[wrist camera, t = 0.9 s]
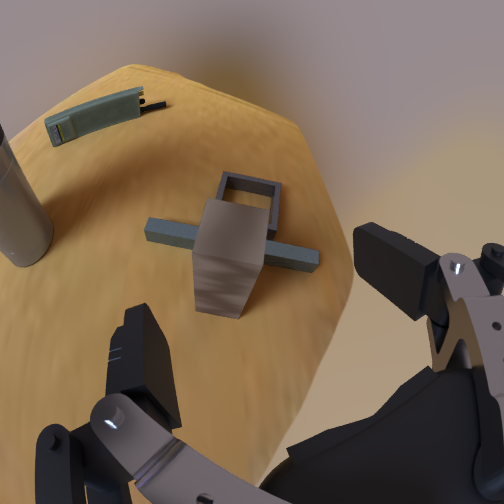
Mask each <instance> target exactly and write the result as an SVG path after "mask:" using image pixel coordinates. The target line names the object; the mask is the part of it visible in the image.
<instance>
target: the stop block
mask: <svg viewBox="0 0 504 504" xmlns="http://www.w3.org/2000/svg"><path fill="white" fill-rule="evenodd" d="M268 219H269V210H266V209H261V208H257V207H252V206H247V205H242V204H237V203H232V202H227V201H222V200H216V199H211V198H207V201H206V205H205V208H204V212H203V215H202V218H201V222H200V225H199V229H198V233H197V236H196V240H195V243H194V247H193V251H192V259H193V278H194V294H195V308H196V311H198V312H203V313H208V314H213V315H218V316H223V317H229V318H234V319H239V317H240V315H241V312H242V310H243V308H244V306H245V304H246V302H247V299H248V297H249V295H250V293H251V291H252V289H253V286H254V284H255V282H256V280H257V278H258V276H259V273H260V271H261V269H262V267H263V261H264V253H265V245H266V236H267V228H268Z"/></svg>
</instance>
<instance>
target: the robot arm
mask: <svg viewBox="0 0 504 504" xmlns="http://www.w3.org/2000/svg"><path fill="white" fill-rule="evenodd" d="M52 237H53V224H52V222H51V220H50V218H49V217H48V215H47V213H46V212H45V210H44V209H43V207H42V205H41V203H40V202H39V200H38V198H37V197H36V195H35V193H34V191H33V190H32V188H31V186H30V184H29V183H28V181H27V179H26V177H25V175H24V173H23V171H22V169H21V167H20V166H19V164H18V162H17V159H16V157H15V155H14V153H13V151H12V149H11V147H10V145H9V143H8V141H7V138H6V136H5V134H4V131H3V129H2V127H1V125H0V251H1V252H2V253H3V254H4V255H5V256H6V257H7V258H8V259H9V260H10V261H11V262H12V263H13V264H14V265H16V266H19V267H26V266H29V265H32V264H33V263H35V262H36V261H38V260H39V259H40V258H41V257H42V256H43V255H44V253H45V252H46V250H47V249H48V247H49V245H50V243H51V240H52ZM353 248H354V266H355V269H356V271H357V273H358V275H359V276H360V277H361V278H362V279H364V280H365V281H366V282H368V283H369V284H370V285H371V286H372V287H374V288H375V289H377V291H379V292H380V293H381V294H382V295H384V296H385V297H386V298H387V299H389V300H390V301H391V302H392V303H394V304H395V305H396V306H397V307H398V308H399V309H401V310H402V311H403V312H404V313H406V314H407V315H408V316H409V317H410V318H411V319H413V320H414V321H417V320H418V319H419V318H421V317H422V316H424V315H425V314H426V315H427V316H428V318H427V329H428V334H429V341H430V348H431V354H432V369H431V368H430V367H429V366H427V367H426V368H424V369H423V370H422V371H420V372H419V373H418V374H416V375H415V376H414V377H412V378H411V379H409V380H408V381H407V382H405V383H404V384H403V385H401V386H400V387H399V388H398V390H397V391H396V392H395V393H394V394H393V395H392V396H391V397H390V398H389V400H388V401H387V402H386V403H385V404H384V405H383V406H382V407H381V408H380V409H379V410H378V411H377V412H376V413H375V414H374V415H373V416H371V417H368V418H365V419H362V420H359V421H356V422H353V423H349V424H346V425H343V426H339V427H336V428H332V429H328V430H326V431H324V432H321V433H319V434H317V435H315V436H313V437H311V438H309V439H307V440H304V441H302V442H300V443H298V444H295V445H293V446H290V447H288V448H286V449H287V452H288V454H289V457H288V458H287V459H286V460H284V461H283V462H281V463H280V464H279V465H278V466H277V467H276V468H274V469H273V470H272V471H271V472H270V473H269V475H268V476H267V477H266V478H265V479H264V481H263V482H262V483H261V485H260V486H259V488H257V487H255V486H253V485H252V484H250V483H248V482H246V481H244V480H242V479H240V478H239V477H237V476H235V475H233V474H232V473H230V472H228V471H227V470H225V469H223V468H222V467H220V466H219V465H217V464H215V463H214V462H212V461H211V460H209V459H208V458H206V457H205V456H203V455H202V454H200V453H199V452H197V451H196V450H194V449H193V448H191V447H190V446H189V445H187V444H186V443H184V442H183V441H181V440H180V439H177V438H176V437H174V436H173V435H172V429H175V428H179V427H182V424H181V418H180V413H179V408H178V402H177V396H176V390H175V384H174V378H173V371H172V364H171V356H170V350H169V346H168V343H167V340H166V338H165V336H164V334H163V332H162V330H161V328H160V327H159V325H158V323H157V321H156V319H155V318H154V316H153V314H152V312H151V310H150V308H149V306H148V305H147V304H146V303H143V304H140V305H137V306H134V307H131V308H128V309H126V310H125V316H124V325H123V326H120V327H117V329H116V331H115V332H114V334H113V336H112V338H111V342H110V353H109V358H108V360H109V362H108V368H107V380H106V394H105V397H104V398H102V399H101V400H99V401H98V402H97V403H96V405H95V406H94V408H93V410H92V412H91V416H90V422H88V423H86V424H85V425H83V426H81V427H79V428H77V429H75V430H73V431H71V432H70V431H68V430H67V429H66V428H65V427H63V426H62V425H60V424H51V425H49V426H47V427H46V428H44V429H43V430H42V432H41V433H40V435H39V437H38V439H37V443H36V457H35V500H36V504H86V496H85V487H84V485H85V486H86V491H87V499H88V504H132V500H131V496H130V491H129V486H128V482H129V481H132V480H134V479H135V480H136V482H135V486H136V488H137V489H138V490H139V491H140V493H141V494H142V495H143V496H144V497H146V498H147V499H148V500H149V501H150V502H151V503H152V504H504V296H503V295H501V293H502V290H503V287H504V246H502V245H499V244H495V243H487V244H485V245H484V246H483V248H482V253H481V257H480V258H478V259H474V260H471V259H470V258H468V257H467V256H465V255H462V254H458V253H448V254H445V255H443V256H442V257H441V256H439V255H437V254H435V253H434V252H432V251H430V250H428V249H427V248H425V247H423V246H421V245H419V244H418V243H415V242H414V241H412V240H410V239H407V237H405V236H403V235H401V234H399V233H397V232H393V231H389V230H387V229H385V228H383V227H381V226H379V225H377V224H375V223H373V222H369V223H367V224H364V225H362V226H359V227H357V228H355V229H354V231H353Z"/></svg>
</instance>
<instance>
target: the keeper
mask: <svg viewBox="0 0 504 504" xmlns="http://www.w3.org/2000/svg"><path fill="white" fill-rule="evenodd" d="M226 188H231V189H236V190H241V191H246V192H251V193H256V194H260V195H265V196H270V197H272V198H271V207H270V216H269V224H268V228H267V236H266V245H265V253H264V261H263V264H268V265H273V266H278V267H283V268H289V269H294V270H299V271H305V272H310V273H312V272H313V271H314V270H315V268H316V267H317V266H318V265H319V251H318V250H313V249H308V248H304V247H299V246H294V245H289V244H284V243H279V242H275V241H273V239H274V236H275V234H276V232H277V225H278V214H279V203H280V191H281V183H278V182H273V181H269V180H264V179H260V178H255V177H250V176H245V175H240V174H235V173H230V172H225V171H223V174H222V178H221V181H220V185H219V188H218V192H217V195H216V200H222V201H223V197H224V194H225V190H226ZM198 229H199V226H193V225H188V224H183V223H178V222H172V221H167V220H162V219H156V218H151V217H149V219H148V221H147V224H146V226H145V229H144V232H145V235H146V239H147V241H151V242H156V243H161V244H166V245H171V246H176V247H181V248H186V249H191V250H193V247H194V243H195V240H196V236H197V233H198ZM270 240H271V241H270Z"/></svg>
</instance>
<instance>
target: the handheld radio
mask: <svg viewBox="0 0 504 504" xmlns="http://www.w3.org/2000/svg"><path fill="white" fill-rule="evenodd" d="M141 90H143V86H141V87H136V88H132V89H128V90H124V91H121V92H117V93H114V94H111V95H107V96H104V97H101V98H98V99H95V100H92V101H89V102H86V103H83V104H80V105H78V106H75V107H72V108H70V109H67V110H65V111H62V112H60V113H57V114H55V115H53V116H50V117H48V118H46V119H45V122H44V123H45V126H46V129H47V132H48V134H49V137H50V140H51V142H52V145H53V147H56V146H58V145H61V144H63V143H65V142H68V141H70V140H73V139H75V138H78V137H80V136H83V135H86V134H88V133H91V132H94V131H97V130H100V129H103V128H106V127H109V126H112V125H115V124H118V123H121V122H125V121H128V120H131V119H135V118H138V117H140V116H141V114H140V113H143V112H145V111H150V110H154V109H159V108H163V107H166V102H165V101H164V102H160V103H156V104H151V105H147V106H146V107H140V105H141V104H144V103H145V99H139V96H142V95H144V93H143V91H142V92H139V91H141Z"/></svg>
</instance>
